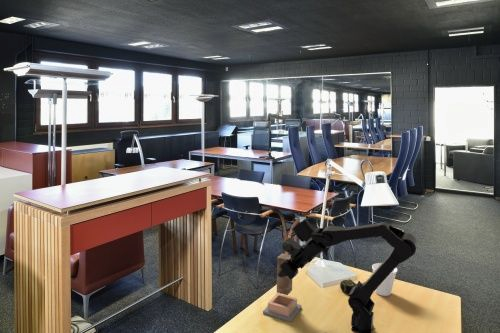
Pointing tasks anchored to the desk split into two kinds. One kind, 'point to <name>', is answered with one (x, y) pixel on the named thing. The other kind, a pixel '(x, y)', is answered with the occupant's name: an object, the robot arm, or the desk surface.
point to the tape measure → (347, 285)
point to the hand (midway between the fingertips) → (281, 273)
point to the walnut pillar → (283, 282)
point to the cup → (385, 282)
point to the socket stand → (282, 307)
